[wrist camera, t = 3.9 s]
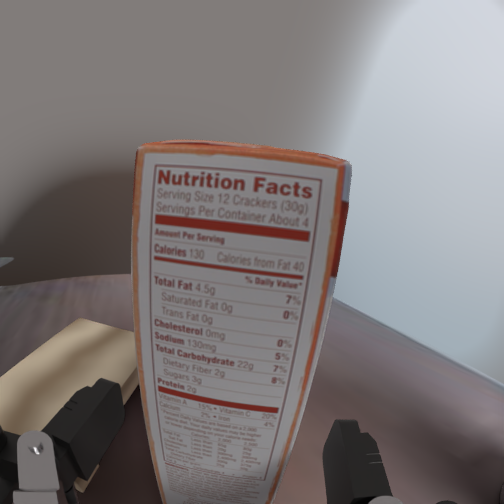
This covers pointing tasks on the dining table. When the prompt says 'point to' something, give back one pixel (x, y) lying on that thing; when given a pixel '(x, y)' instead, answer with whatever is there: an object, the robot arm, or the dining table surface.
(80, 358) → the birch stand
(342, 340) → the dining table surface
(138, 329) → the cracker box
